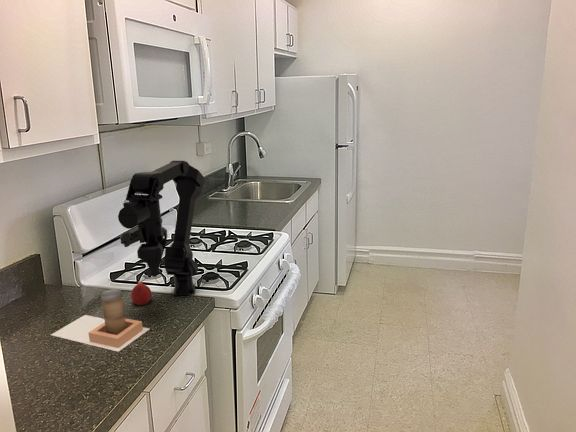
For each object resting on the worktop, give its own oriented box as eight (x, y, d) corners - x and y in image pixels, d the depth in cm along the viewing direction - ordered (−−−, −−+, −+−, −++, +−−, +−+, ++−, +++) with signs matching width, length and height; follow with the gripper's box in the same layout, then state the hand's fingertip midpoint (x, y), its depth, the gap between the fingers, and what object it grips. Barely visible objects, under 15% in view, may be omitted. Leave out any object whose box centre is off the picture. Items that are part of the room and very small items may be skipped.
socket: (114, 324, 135) (113, 316, 134) (142, 329, 131) (141, 321, 130) (89, 341, 126) (88, 332, 126) (118, 347, 123) (117, 338, 122)
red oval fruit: (147, 311, 144) (143, 286, 142) (129, 309, 146) (125, 285, 143) (155, 302, 150) (152, 278, 148) (138, 301, 151) (135, 277, 149)
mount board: (51, 338, 131) (50, 334, 130) (85, 318, 141) (85, 314, 141) (119, 355, 121) (118, 351, 121) (150, 332, 132) (149, 328, 132)
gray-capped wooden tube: (105, 333, 130) (99, 291, 127) (125, 328, 132) (119, 287, 129) (108, 342, 125) (102, 299, 122) (128, 337, 128) (123, 294, 125)
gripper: (125, 211, 144) (132, 261, 148) (113, 230, 126) (121, 286, 130) (164, 208, 145) (170, 258, 149) (158, 226, 127) (164, 282, 132)
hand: (156, 270), depth 140 cm, fingers open, 9 cm apart
